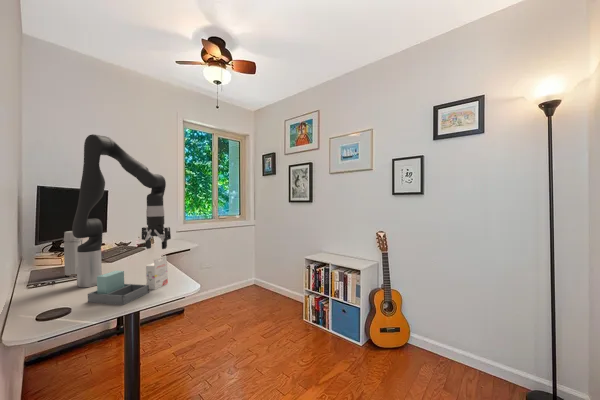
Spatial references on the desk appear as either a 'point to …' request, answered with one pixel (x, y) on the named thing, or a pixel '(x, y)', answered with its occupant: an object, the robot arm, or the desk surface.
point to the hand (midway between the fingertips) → (156, 248)
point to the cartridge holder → (120, 295)
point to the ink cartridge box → (157, 273)
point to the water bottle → (71, 253)
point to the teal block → (110, 282)
